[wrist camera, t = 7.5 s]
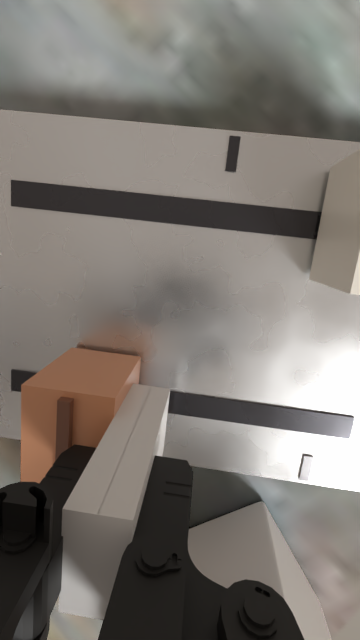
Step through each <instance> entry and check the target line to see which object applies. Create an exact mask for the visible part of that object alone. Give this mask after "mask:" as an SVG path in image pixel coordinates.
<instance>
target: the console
mask: <svg viewBox="0 0 360 640" xmlns="http://www.w3.org/2000/svg"><path fill="white" fill-rule="evenodd" d="M359 149H360V142H352V141H341V140H330V139H320V138H309V137H298V136H287V135H276V134H265V133H254V132H243V131H232V130H221V129H210V128H199V127H188V126H177V125H166V124H156V123H145V122H134V121H123V120H112V119H101V118H90V117H79V116H68V115H57V114H46V113H35V112H24V111H13V110H2V109H0V437H4V438H11V439H17V440H21V385H22V384H23V383H24V382H26V381H27V380H28V379H30V378H31V377H32V376H34V375H35V374H36V373H38V372H39V371H40V370H42V369H43V368H45V367H46V366H47V365H49V364H50V363H51V362H53V361H54V360H55V359H57V358H58V357H59V356H61V355H62V354H63V353H65V352H66V351H67V350H69V349H70V348H80V349H87V350H95V351H102V352H110V353H117V354H125V355H132V356H140V357H141V363H140V374H139V384H140V385H147V386H154V387H162V388H169V389H170V396H169V405H168V414H167V423H166V432H165V441H164V450H163V455H162V457H169V458H175V459H182V460H187V461H188V463H189V465H190V466H195V467H201V468H208V469H214V470H221V471H228V472H234V473H241V474H247V475H254V476H260V477H267V478H274V479H280V480H287V481H293V482H300V483H306V484H313V485H319V486H326V487H333V488H339V489H346V490H352V491H359V492H360V295H354V294H349V293H346V292H343V291H340V290H337V289H335V288H332V287H329V286H326V285H324V284H321V283H318V282H315V281H312V280H310V279H309V276H310V271H311V266H312V261H313V255H314V250H315V245H316V240H317V235H318V230H319V224H320V219H321V214H322V209H323V204H324V199H325V193H326V188H327V183H328V178H329V173H330V168H331V167H332V166H334V165H335V164H337V163H339V162H340V161H342V160H343V159H345V158H346V157H348V156H350V155H351V154H353V153H354V152H356V151H357V150H359Z"/></svg>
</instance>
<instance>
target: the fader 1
mask: <svg viewBox="0 0 360 640" xmlns="http://www.w3.org/2000/svg"><path fill="white" fill-rule="evenodd" d="M140 363H141V357H140V356H132V355H125V354H117V353H110V352H102V351H95V350H87V349H80V348H70V349H69V350H67V351H66V352H65V353H63V354H62V355H61V356H59V357H58V358H57V359H55V360H54V361H53V362H51V363H50V364H49V365H47V366H46V367H45V368H43V369H42V370H40V371H39V372H38V373H36V374H35V375H34V376H32V377H31V378H30V379H28V380H27V381H26V382H24V383H23V384H22V385H21V482H37V483H40V482H41V480H42V479H43V478H44V477H45V475H46V473H47V472H48V471H49V469H50V468H51V467H52V466H53V464H54V462H55V461H56V460H57V458H58V457H59V455H60V454H61V453H62V452H64V451H65V450H67V449H68V448H70V447H71V446H73V445H74V444H75V445H82V446H88V447H95V448H97V446H98V445H99V443H100V441H101V439H102V437H103V436H104V434H105V432H106V430H107V429H108V427H109V425H110V423H111V421H112V420H113V418H114V417H115V415H116V413H117V411H118V410H119V408H120V406H121V404H122V402H123V401H124V399H125V397H126V395H127V394H128V392H129V390H130V388H131V386H132V385H133V384H139V374H140Z"/></svg>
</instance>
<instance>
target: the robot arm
mask: <svg viewBox="0 0 360 640" xmlns="http://www.w3.org/2000/svg"><path fill="white" fill-rule="evenodd" d="M169 396H170V389H169V388H162V387H154V386H147V385H140V384H133V385H132V386H131V388H130V390H129V392H128V394H127V395H126V397H125V399H124V401H123V402H122V404H121V406H120V408H119V410H118V411H117V413H116V415H115V417H114V418H113V420H112V421H111V423H110V425H109V427H108V429H107V430H106V432H105V434H104V436H103V437H102V439H101V441H100V443H99V445H98V446H97V448H95V447H88V446H82V445H75V444H74V445H73V446H71V447H70V448H68V449H67V450H65V451H64V452H62V453H61V454H60V455H59V457H58V458H57V460H56V461H55V462H54V464H53V466H52V467H51V468H50V469H49V471H48V472H47V473H46V475H45V477H44V478H43V479H42V480H41V482H40V483H37V482H18V483H14V484H10V485H7V486H5V487H3V488H1V489H0V640H47V636H48V632H49V622H50V614H51V612H52V610H53V607H54V605H55V603H56V601H57V598H58V596H59V609H58V612H61V613H67V614H72V615H78V616H83V617H89V618H94V619H100V620H103V624H102V627H101V631H100V634H99V638H98V640H304V638H303V635H302V633H301V631H300V628H299V626H298V624H297V622H296V619H295V617H294V615H293V612H292V611H291V609H290V608H289V606H288V604H287V603H286V601H285V600H284V598H283V597H282V596H281V595H279V594H278V593H277V592H276V591H275V590H274V589H273V588H272V587H270V586H268V585H266V584H264V583H262V582H259V581H254V580H247V579H245V580H241V581H238V582H234V583H233V584H232V585H231V586H230V587H229V588H228V589H227V588H225V587H223V586H221V585H219V584H217V583H216V582H214V581H212V580H210V579H209V578H207V577H206V576H204V575H203V574H202V573H201V572H200V571H199V570H198V569H197V568H196V567H195V565H194V563H193V562H192V560H191V558H190V555H189V552H188V532H189V519H190V506H191V493H192V480H193V471H192V469H191V467H190V465H189V463H188V461H187V460H182V459H175V458H169V457H162V455H163V450H164V441H165V432H166V423H167V414H168V405H169Z"/></svg>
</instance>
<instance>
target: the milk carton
mask: <svg viewBox="0 0 360 640" xmlns="http://www.w3.org/2000/svg"><path fill="white" fill-rule="evenodd" d="M188 552H189V555H190V558H191V560H192V562H193V563H194V565H195V567H196V568H197V569H198V570H199V571H200V572H201V573H202V574H203V575H204V576H206V577H207V578H209V579H210V580H212V581H214V582H216V583H217V584H219V585H221V586H223V587H225V588H227V589H228V588H229V587H230V586H231V585H232V584H233V583H234V582H238V581H241V580H245V579H247V580H254V581H259V582H262V583H264V584H266V585H268V586H270V587H272V588H273V589H274V590H275V591H276V592H277V593H278V594H279V595H281V596H282V597H283V598H284V600H285V601H286V603H287V604H288V606H289V608H290V609H291V611H292V612H293V615H294V617H295V619H296V622H297V624H298V626H299V628H300V631H301V633H302V635H303V638H304V640H332V639H331V636H330V633H329V630H328V626H327V623H326V620H325V617H324V613H323V610H322V607H321V604H320V601H319V600H318V598H317V596H316V594H315V592H314V591H313V589H312V587H311V585H310V584H309V582H308V580H307V578H306V576H305V575H304V573H303V571H302V569H301V567H300V566H299V564H298V562H297V560H296V559H295V557H294V555H293V553H292V551H291V550H290V548H289V546H288V544H287V542H286V541H285V539H284V537H283V535H282V534H281V532H280V530H279V528H278V526H277V525H276V523H275V521H274V519H273V518H272V516H271V514H270V512H269V510H268V509H267V507H266V505H265V503H264V502H257V503H254V504H252V505H249V506H247V507H244V508H241V509H239V510H236V511H234V512H231V513H229V514H226V515H223V516H221V517H218V518H216V519H213V520H211V521H208V522H206V523H203V524H201V525H198V526H195V527H193V528H190V529H189V532H188Z"/></svg>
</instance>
